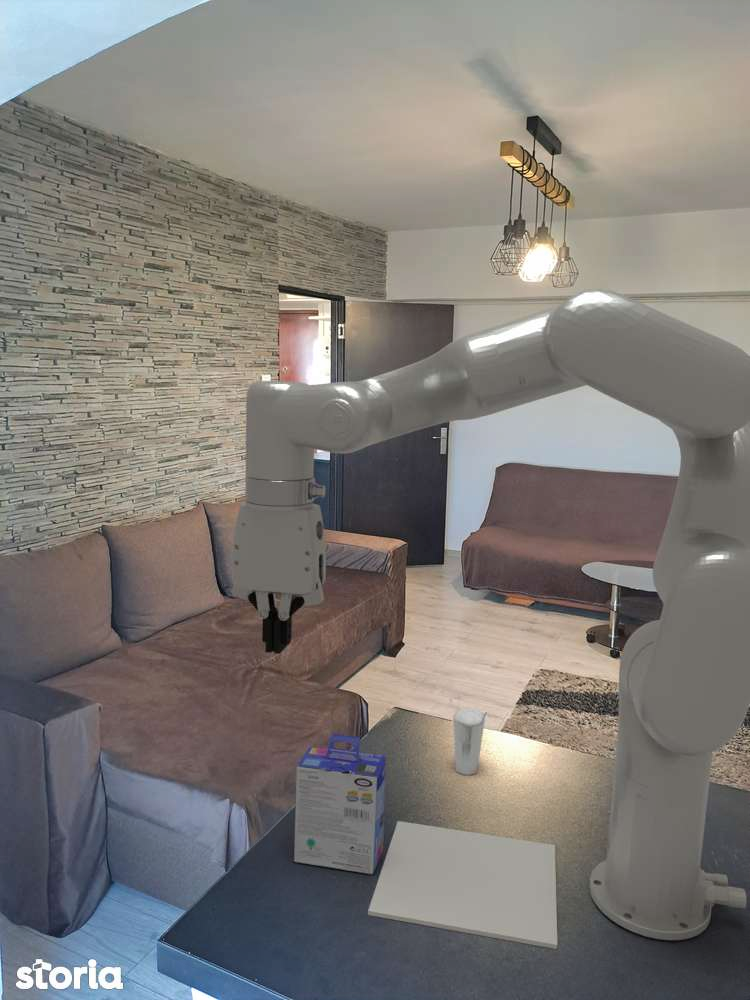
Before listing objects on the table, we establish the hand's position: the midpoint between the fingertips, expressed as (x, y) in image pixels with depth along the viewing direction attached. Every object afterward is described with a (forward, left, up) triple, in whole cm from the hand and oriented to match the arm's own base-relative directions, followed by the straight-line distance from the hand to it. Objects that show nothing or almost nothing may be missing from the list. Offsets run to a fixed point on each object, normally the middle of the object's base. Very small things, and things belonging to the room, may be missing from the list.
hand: (276, 648), depth 88 cm
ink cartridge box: (-8, 0, -25) cm, 26 cm away
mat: (-23, 0, -25) cm, 34 cm away
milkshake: (-21, -24, -25) cm, 41 cm away
